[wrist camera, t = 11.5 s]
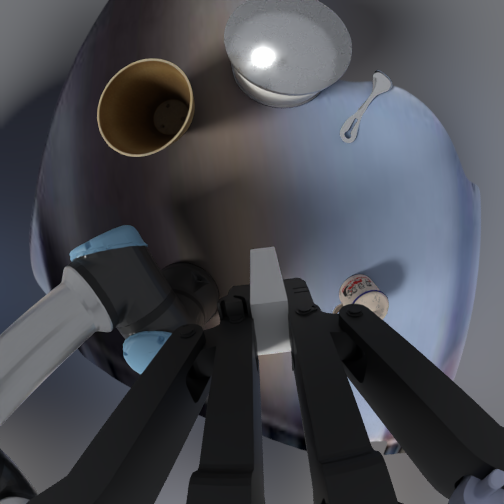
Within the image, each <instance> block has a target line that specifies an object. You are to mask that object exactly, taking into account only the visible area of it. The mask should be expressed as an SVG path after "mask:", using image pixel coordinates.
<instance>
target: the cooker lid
mask: <svg viewBox="0 0 504 504" xmlns="http://www.w3.org/2000/svg"><path fill="white" fill-rule="evenodd" d="M224 43H225V47H226V52H227V55H228V57H229V60H230V61H231V63H232V65H233V66H234V68H235V69H236V70H237V72H238V73H239V74H240V75H241V76H242V77H244V78H245V79H246V80H247V81H249V82H250V83H252V84H254V85H255V86H257V87H259V88H261V89H263V90H266V91H269V92H272V93H276V94H280V95H288V96H300V95H308V94H313V93H316V92H319V91H322V90H323V89H325V88H327V87H329V86H330V85H332V84H333V83H335V82H336V81H337V80H338V79H339V78H340V77H342V75H343V74H344V73H345V71H346V70H347V68H348V66H349V64H350V61H351V57H352V43H351V38H350V35H349V32H348V30H347V28H346V26H345V24H344V23H343V22H342V20H341V19H340V18H339V17H338V16H337V14H336V13H335V12H333V11H332V10H331V9H330V8H329V7H327V6H326V5H324V4H323V3H321V2H319V1H317V0H248V1H246V2H244V3H243V4H242V5H240V6H239V7H238V8H237V9H236V10H235V11H234V12H233V14H232V15H231V16H230V18H229V20H228V22H227V24H226V28H225V33H224Z"/></svg>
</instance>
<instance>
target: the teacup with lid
mask: <svg viewBox="0 0 504 504" xmlns="http://www.w3.org/2000/svg"><path fill="white" fill-rule="evenodd" d="M339 298H340V301H341V304H340V305H338V306H337V307H336V308H335V309H334V311H333V314H337V313H338V312H339V310H340V309H341V308H342V307H343V306H345V305H348V304H361V305H364V306H366V307H368V308H369V309H370V310H371V311H372V312H374V313H375V314H376V315H377V316H378V317H380V318H381V319H382V320H383V319H384V317H385V316H386V314H387V311H388V307H389V302H388V298H387V296H386V295H385V294H384V293H383V292H381V291H380V290H379V288H378V287H377V286H376V285H375V284H374V283H373V281H372V280H371V279H370V278H369V277H367V276H366V275H361V274H358V275H354V276H351V277H349V278H348V279H347V280H346V281H345V282H344V283H343V284H342V286H341V288H340V291H339Z"/></svg>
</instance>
